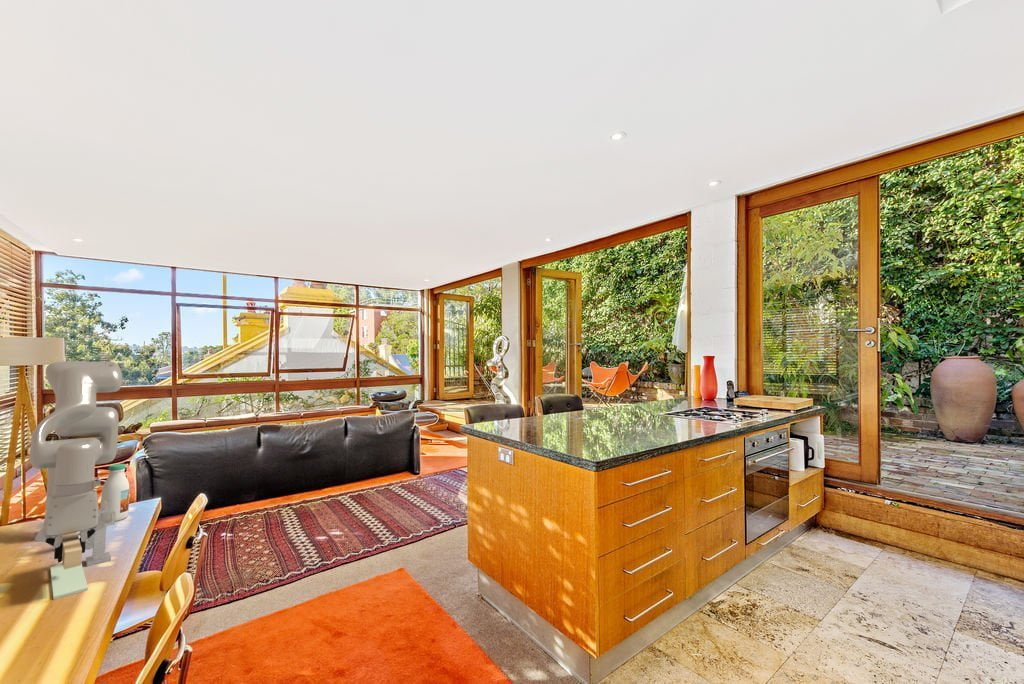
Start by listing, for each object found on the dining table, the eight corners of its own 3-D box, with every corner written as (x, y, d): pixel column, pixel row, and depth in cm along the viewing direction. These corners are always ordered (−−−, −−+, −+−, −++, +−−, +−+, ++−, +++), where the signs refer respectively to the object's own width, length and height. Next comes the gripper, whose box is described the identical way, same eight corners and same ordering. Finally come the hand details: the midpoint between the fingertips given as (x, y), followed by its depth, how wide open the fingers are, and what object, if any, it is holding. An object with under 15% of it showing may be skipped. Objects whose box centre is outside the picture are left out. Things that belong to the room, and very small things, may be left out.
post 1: (78, 546, 135) (81, 503, 136) (104, 540, 140) (107, 499, 140) (80, 550, 132) (82, 507, 133) (106, 544, 136) (109, 502, 137)
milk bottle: (110, 523, 154) (114, 467, 155) (93, 522, 156) (97, 466, 157) (133, 516, 162) (136, 463, 163) (117, 515, 163) (120, 462, 164)
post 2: (83, 561, 125) (86, 515, 125) (111, 554, 129) (113, 510, 130) (84, 566, 121) (87, 519, 122) (113, 559, 126) (115, 514, 127)
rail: (59, 545, 121) (60, 530, 121) (74, 541, 123) (75, 527, 123) (63, 569, 106) (65, 553, 107) (81, 565, 109) (82, 549, 109)
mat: (50, 569, 120) (50, 567, 120) (80, 562, 124) (80, 560, 124) (53, 599, 105) (53, 596, 105) (87, 589, 109) (87, 587, 109)
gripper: (113, 480, 124) (109, 545, 123) (28, 492, 112) (23, 564, 111) (116, 485, 119) (112, 552, 118) (28, 498, 107) (23, 574, 106)
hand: (69, 557), depth 115 cm, fingers closed on rail, 3 cm apart
